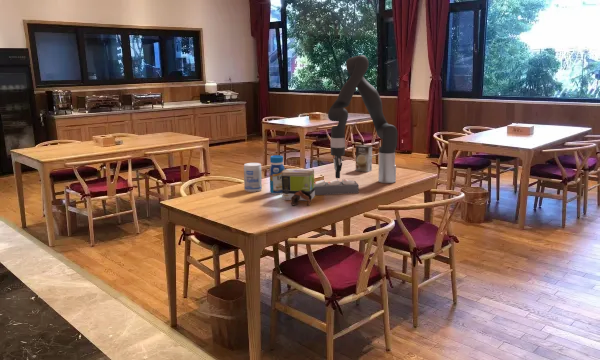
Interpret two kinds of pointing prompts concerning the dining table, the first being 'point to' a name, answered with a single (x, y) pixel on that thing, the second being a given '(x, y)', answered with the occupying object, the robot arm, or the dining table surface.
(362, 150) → the coffee box
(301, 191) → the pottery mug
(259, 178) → the supplement tub
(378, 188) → the dining table surface
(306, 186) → the tea box
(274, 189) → the beverage bottle
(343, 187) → the strip housing
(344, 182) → the plate
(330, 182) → the rocker
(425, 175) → the dining table surface
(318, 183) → the rocker
